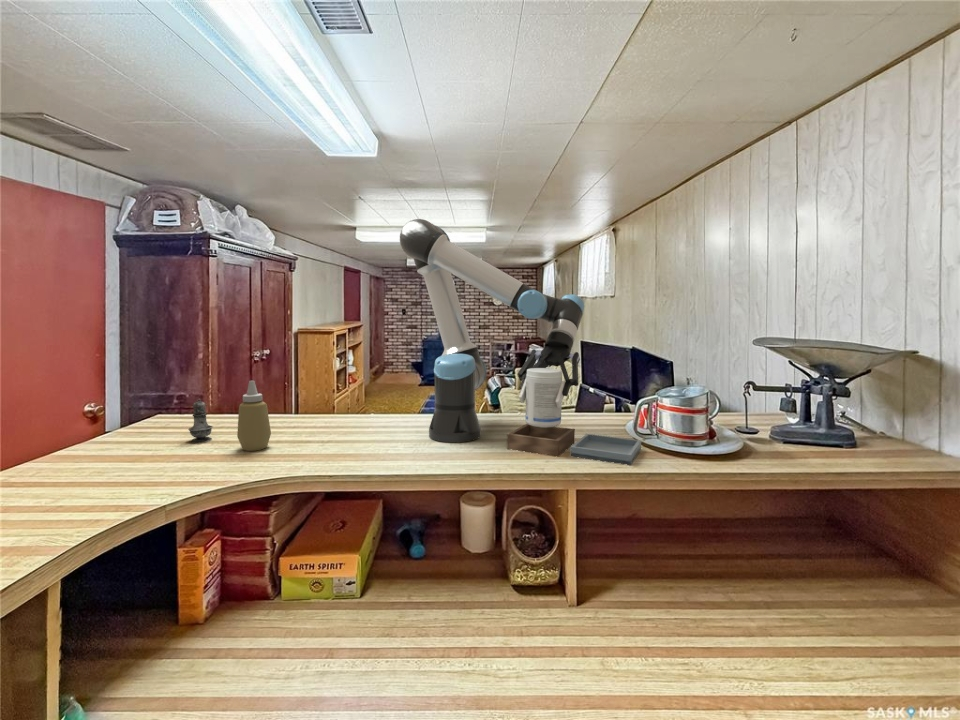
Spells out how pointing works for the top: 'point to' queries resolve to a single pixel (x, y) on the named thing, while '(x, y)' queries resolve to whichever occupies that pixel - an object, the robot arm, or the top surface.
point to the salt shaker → (200, 424)
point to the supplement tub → (543, 397)
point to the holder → (541, 439)
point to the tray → (606, 448)
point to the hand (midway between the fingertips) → (539, 402)
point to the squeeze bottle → (253, 421)
